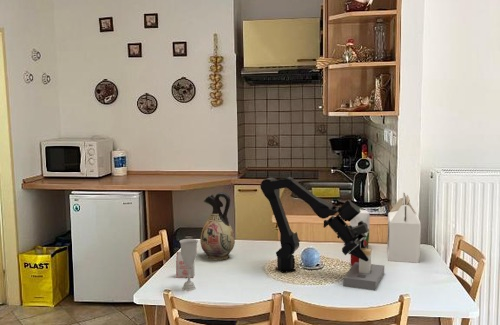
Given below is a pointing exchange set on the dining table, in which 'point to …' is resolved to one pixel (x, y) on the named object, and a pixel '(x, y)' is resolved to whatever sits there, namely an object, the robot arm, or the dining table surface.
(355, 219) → the milk carton
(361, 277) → the grey socket base
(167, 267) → the dining table surface
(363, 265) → the plug
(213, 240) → the ceramic jug
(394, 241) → the gable box
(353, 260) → the beverage can
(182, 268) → the white red printed box
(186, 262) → the chalice
